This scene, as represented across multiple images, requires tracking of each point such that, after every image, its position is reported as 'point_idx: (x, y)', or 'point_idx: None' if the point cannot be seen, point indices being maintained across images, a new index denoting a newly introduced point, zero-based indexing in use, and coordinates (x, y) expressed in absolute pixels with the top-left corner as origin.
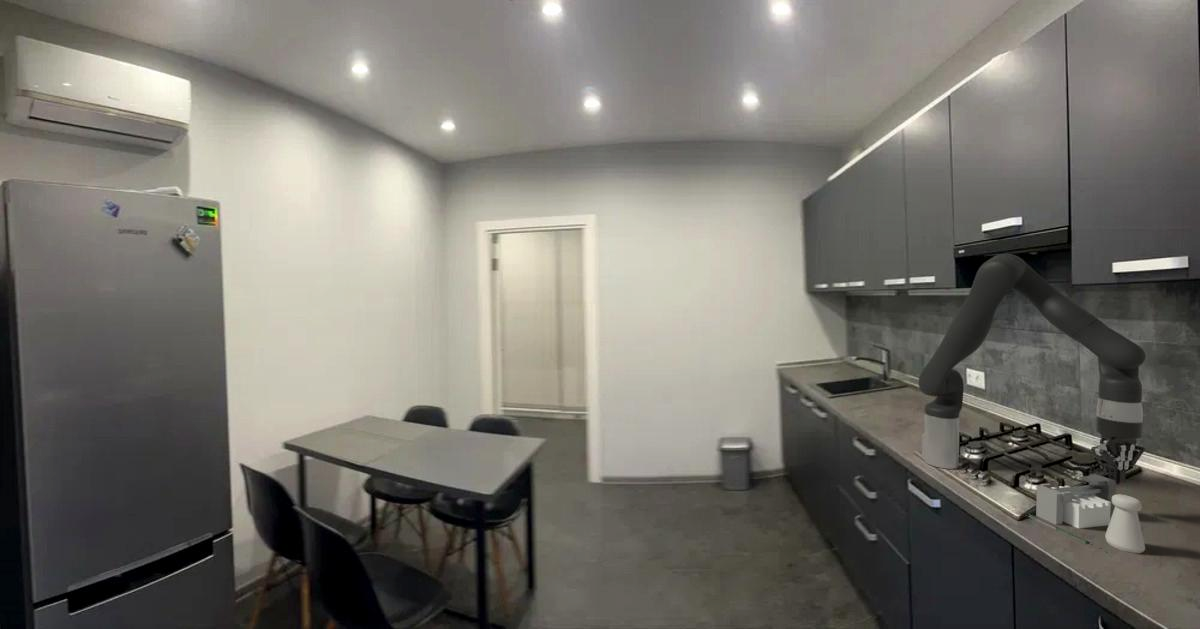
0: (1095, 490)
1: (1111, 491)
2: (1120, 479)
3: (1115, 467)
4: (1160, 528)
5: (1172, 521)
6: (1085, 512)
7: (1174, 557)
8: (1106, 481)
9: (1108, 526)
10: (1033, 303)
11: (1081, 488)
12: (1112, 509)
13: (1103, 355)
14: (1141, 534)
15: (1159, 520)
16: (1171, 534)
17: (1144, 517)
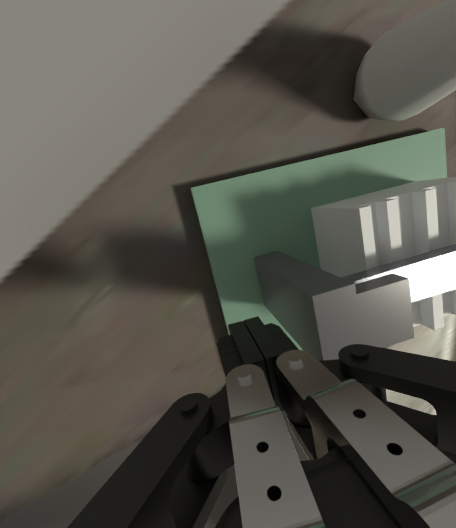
0: (373, 273)
1: (310, 274)
2: (260, 325)
3: (344, 350)
4: (145, 228)
5: (60, 277)
6: (440, 181)
7: (273, 60)
8: (353, 293)
9: (448, 93)
10: None
11: (422, 278)
12: (270, 260)
13: None
14: (427, 9)
15: (97, 280)
16: (148, 193)
17: (127, 295)
